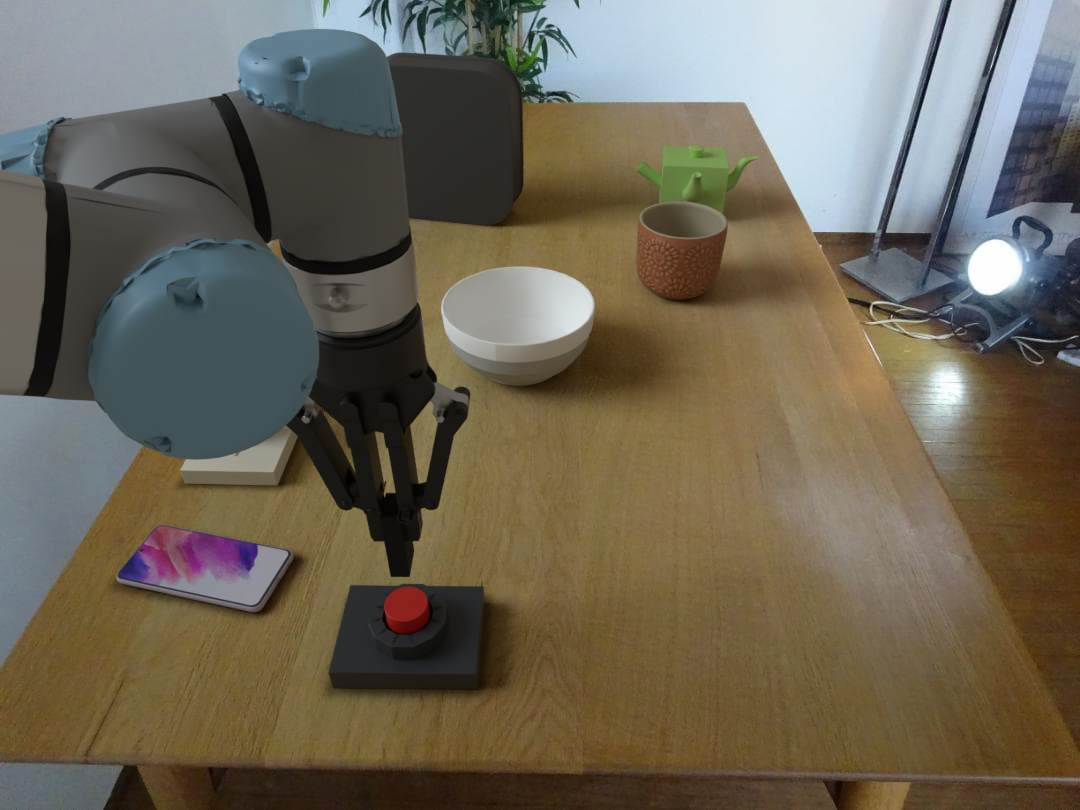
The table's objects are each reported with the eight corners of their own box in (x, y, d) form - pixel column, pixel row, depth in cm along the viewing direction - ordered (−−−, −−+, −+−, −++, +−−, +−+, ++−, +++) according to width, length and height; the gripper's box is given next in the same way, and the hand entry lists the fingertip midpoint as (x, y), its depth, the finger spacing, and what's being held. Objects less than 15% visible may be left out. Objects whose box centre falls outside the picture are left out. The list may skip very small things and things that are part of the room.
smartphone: (257, 610, 72) (111, 578, 75) (260, 616, 72) (114, 584, 75) (295, 549, 77) (158, 521, 80) (297, 555, 78) (160, 527, 81)
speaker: (374, 214, 139) (353, 62, 124) (392, 194, 146) (374, 47, 131) (513, 228, 135) (510, 72, 119) (526, 207, 141) (524, 57, 126)
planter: (708, 316, 113) (719, 245, 106) (623, 300, 116) (628, 230, 109) (724, 275, 122) (735, 207, 115) (644, 262, 125) (650, 195, 119)
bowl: (605, 333, 109) (609, 276, 104) (574, 417, 95) (575, 356, 90) (473, 314, 113) (470, 258, 108) (424, 392, 99) (417, 332, 93)
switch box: (332, 688, 67) (324, 659, 64) (353, 600, 74) (347, 571, 71) (477, 689, 67) (474, 660, 64) (484, 601, 74) (482, 572, 71)
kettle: (750, 213, 140) (760, 149, 133) (695, 237, 132) (704, 171, 125) (684, 186, 149) (691, 125, 142) (630, 207, 141) (634, 144, 134)
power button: (383, 634, 67) (380, 621, 65) (390, 599, 69) (387, 586, 68) (426, 634, 66) (425, 621, 65) (432, 599, 69) (430, 586, 68)
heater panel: (277, 485, 86) (273, 470, 84) (184, 484, 86) (179, 469, 85) (311, 405, 97) (307, 390, 95) (228, 403, 97) (224, 389, 96)
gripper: (234, 342, 47) (309, 601, 61) (459, 341, 46) (481, 602, 61) (269, 278, 53) (331, 528, 67) (469, 277, 52) (487, 529, 67)
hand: (402, 563), depth 64 cm, fingers closed
